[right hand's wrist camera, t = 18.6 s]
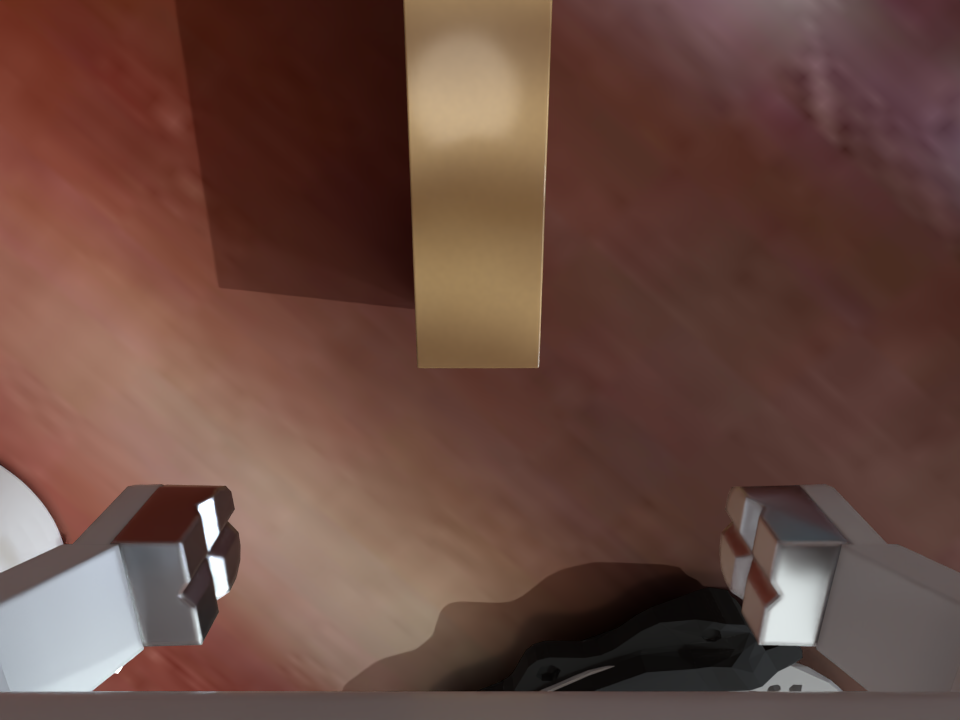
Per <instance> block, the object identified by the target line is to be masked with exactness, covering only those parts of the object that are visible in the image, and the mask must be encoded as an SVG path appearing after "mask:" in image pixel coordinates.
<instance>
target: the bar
mask: <svg viewBox="0 0 960 720" xmlns="http://www.w3.org/2000/svg"><path fill="white" fill-rule="evenodd" d="M403 13H404V39H405V64H406V90H407V116H408V142H409V168H410V193H411V219H412V245H413V271H414V297H415V323H416V348H417V367H418V368H539V358H540V330H541V302H542V274H543V246H544V218H545V189H546V161H547V133H548V105H549V77H550V49H551V21H552V0H403Z"/></svg>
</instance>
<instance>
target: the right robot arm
mask: <svg viewBox="0 0 960 720" xmlns="http://www.w3.org/2000/svg"><path fill="white" fill-rule="evenodd" d="M234 510H235V508H234V503H233V498H232V493H231V491H230V490H229V489H228V488H227V487H226V486H203V485H162V484H153V485H133V486H128V487H127V488H126V489H125V490H124V491H123V492H122V493H121V494H120V495H119V496H118V497H117V498H116V499H115V500H114V501H113V502H112V503H111V505H110V506H109V507H108V508H107V509H106V510H105V511H104V512H103V513H102V514H101V515H100V516H99V517H98V518H97V519H96V520H95V521H94V522H93V523H92V524H91V525H90V526H89V528H88V529H87V530H86V531H85V532H84V533H83V534H82V535H81V536H80V537H79V538H78V539H77V540H76V541H75V542H74V543H73V544H63V541H62V538H61V535H60V533H59V530H58V528H57V526H56V524H55V522H54V520H53V518H52V516H51V515H50V513H49V512H48V510H47V509H46V507H45V506H44V504H43V503H42V502H41V501H40V499H39V498H38V497H37V496H36V495H35V494H34V493H33V492H32V490H31V489H30V488H28V487H27V486H26V485H25V484H24V483H23V482H22V481H21V480H20V479H19V478H17V477H16V476H15V475H14V474H12V473H11V472H10V471H8V470H7V469H5V468H4V467H2V466H1V465H0V720H960V573H959V572H957V571H954V570H952V569H950V568H948V567H946V566H944V565H941V564H939V563H937V562H935V561H933V560H931V559H928V558H926V557H924V556H922V555H920V554H918V553H915V552H913V551H911V550H909V549H907V548H905V547H902V546H900V545H898V544H887V543H886V542H885V541H884V540H883V539H882V538H881V537H880V536H879V535H878V534H877V533H876V532H875V531H874V530H873V528H872V527H871V526H870V525H869V524H868V523H867V522H866V521H865V520H864V519H863V518H862V517H861V516H860V515H859V514H858V513H857V512H856V511H855V510H854V509H853V508H852V507H851V505H850V504H849V503H848V502H847V501H846V500H845V499H844V498H843V497H842V496H841V495H840V494H839V493H838V492H837V491H836V490H835V489H834V488H833V487H831V486H829V485H826V484H814V485H791V486H751V487H732V488H731V490H730V492H729V494H728V497H727V502H726V508H725V510H726V511H727V513H728V514H729V516H730V518H731V519H732V522H731V523H730V524H729V525H728V526H727V527H726V528H725V529H724V530H723V531H722V532H721V540H720V548H719V552H720V564H721V569H722V573H723V576H724V580H725V582H726V584H727V586H728V588H729V590H730V591H731V592H732V593H734V594H735V595H737V596H738V597H740V598H741V599H743V604H742V610H741V613H742V614H743V616H744V618H745V620H746V622H747V624H748V626H749V628H750V629H751V631H752V633H753V635H754V637H755V639H756V641H757V643H758V644H759V645H782V646H817V647H816V649H817V650H818V651H819V652H820V653H822V654H823V655H824V656H825V657H827V658H828V659H829V660H830V661H832V662H833V663H834V664H835V665H837V666H838V667H839V668H840V669H842V670H843V671H844V672H845V673H847V674H848V675H849V676H850V677H852V678H853V679H854V680H855V681H857V682H858V683H859V684H860V685H862V686H863V687H864V688H865V689H867V690H868V691H92V690H94V689H95V688H96V687H97V686H99V685H100V684H101V683H102V682H104V681H105V680H106V679H107V678H109V677H110V676H111V675H112V674H114V673H119V671H120V670H121V668H122V666H124V665H125V664H126V663H127V662H129V661H130V660H131V659H132V658H134V657H135V656H136V655H137V654H139V653H140V652H141V651H142V650H144V647H143V646H177V645H202V643H203V641H204V639H205V637H206V635H207V633H208V631H209V629H210V628H211V626H212V624H213V622H214V620H215V618H216V616H217V614H218V613H219V610H218V604H217V599H219V598H220V597H222V596H223V595H225V594H226V593H228V592H229V591H230V590H231V588H232V586H233V583H234V581H235V579H236V577H237V572H238V568H239V563H240V539H239V533H238V531H237V530H236V529H235V528H234V527H233V526H232V525H231V524H230V523H229V522H228V519H229V518H230V516H231V514H232V513H233V511H234Z"/></svg>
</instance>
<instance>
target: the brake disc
mask: <svg viewBox="0 0 960 720" xmlns="http://www.w3.org/2000/svg"><path fill="white" fill-rule="evenodd" d="M741 610H742V607H741V605H740V604H739V603H738V602H737V601H736V599H735V598H733V597H731V595H730V593H729V592H728V590H722V589H716V588H709V587H708V588H705V589H701V590H698V591H695V592H692V593H689V594H687V595H684V596H681V597H679V598H676V599H673V600H670V601H668V602H665V603H662V604H659V605H656V606H654V607H651V608H649V609H647V610H645V611H643V612H642V613H640V614H638V615H636V616H635V617H633V618H632V619H630V620H629V621H627V622H626V623H624V624H623V625H621V626H620V627H618V628H616V629H613V630H611V631H608V632H605V633H602V634H599V635H597V636H594V637H591V638H588V639H585V640H583V641H543V642H540V643H537V644H534V645H533V646H531V647H530V648H528V649H527V650H526V651H525V653H524V655H523V656H522V658H521V660H520V661H519V663H518V665H517V667H516V668H515V670H514V672H513V673H512V674H511V675H510V676H509V677H508V678H506V679H505V680H503V681H501V682H499V683H497V684H494V685H491V686H489V687H486V688H484V689H481V690H478V691H842V690H841V689H840V688H839V687H838V686H837V685H835V684H834V683H833V682H832V681H831V680H829V679H828V678H826V677H824V676H823V675H821V674H819V673H818V672H816V671H814V670H812V669H811V668H809V667H807V666H804V665H801V664H798V663H796V662H797V661H799V660H800V659H801V658H803V657H802V650H801V648H800V646H782V645H759V644H758V643H757V641H756V639H755V637H754V635H753V633H752V631H751V629H750V628H749V626H748V624H747V622H746V620H745V618H744V616H743V614H742V613H741ZM772 685H773V686H772Z"/></svg>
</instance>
